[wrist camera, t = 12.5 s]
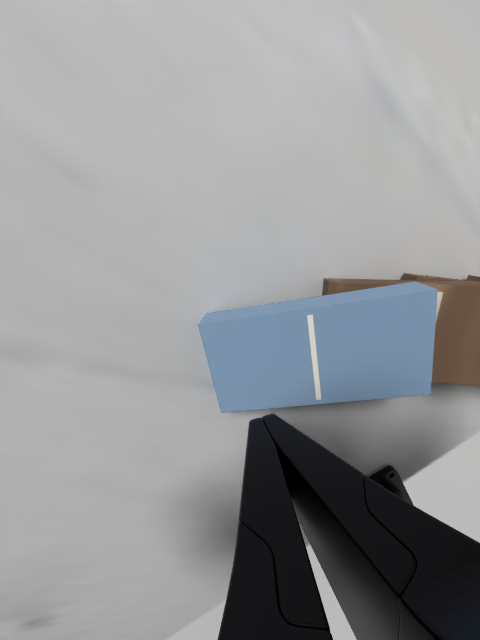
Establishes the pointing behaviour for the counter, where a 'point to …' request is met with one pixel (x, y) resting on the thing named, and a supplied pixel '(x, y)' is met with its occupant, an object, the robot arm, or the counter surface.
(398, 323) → the blue domino
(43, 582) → the counter surface
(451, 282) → the domino
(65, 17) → the counter surface
